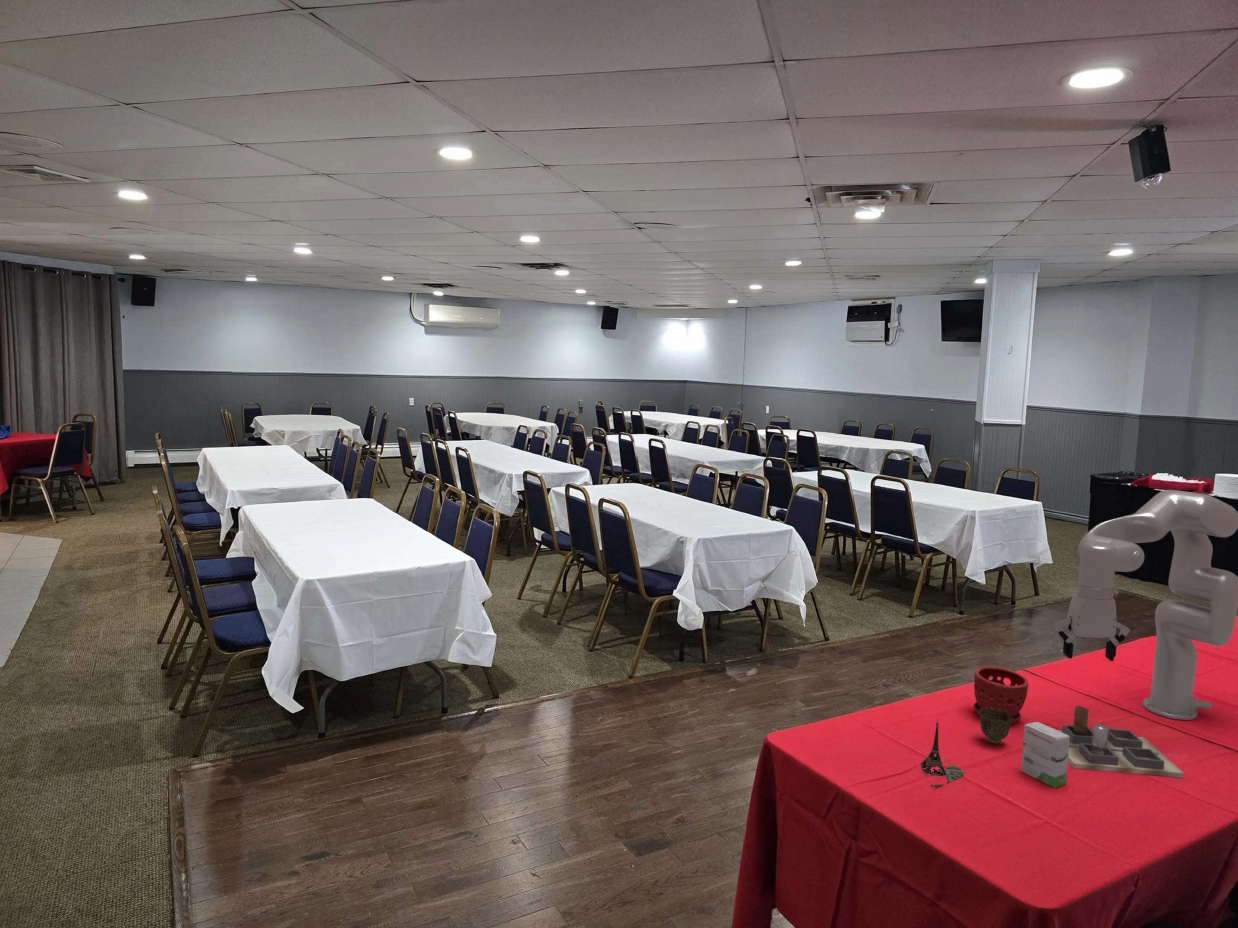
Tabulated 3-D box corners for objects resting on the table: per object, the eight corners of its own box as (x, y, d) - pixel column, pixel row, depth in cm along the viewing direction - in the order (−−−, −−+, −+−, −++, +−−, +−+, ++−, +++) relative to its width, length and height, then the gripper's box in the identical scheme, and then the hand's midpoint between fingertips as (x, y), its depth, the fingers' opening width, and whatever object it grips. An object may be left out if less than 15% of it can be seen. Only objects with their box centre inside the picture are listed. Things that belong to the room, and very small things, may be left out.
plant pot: (972, 722, 210) (976, 679, 208) (970, 703, 222) (974, 663, 220) (1027, 731, 205) (1031, 688, 204) (1022, 711, 217) (1025, 670, 216)
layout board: (1143, 741, 201) (1147, 707, 200) (1183, 777, 183) (1187, 740, 182) (1044, 733, 204) (1047, 699, 203) (1073, 767, 187) (1076, 731, 186)
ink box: (1067, 784, 179) (1072, 735, 178) (1053, 788, 177) (1057, 739, 176) (1033, 766, 187) (1037, 719, 186) (1019, 770, 185) (1023, 723, 183)
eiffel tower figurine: (934, 792, 176) (939, 736, 174) (896, 772, 184) (900, 718, 182) (973, 774, 184) (978, 720, 182) (935, 755, 192) (939, 704, 191)
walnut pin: (1082, 736, 201) (1085, 706, 200) (1088, 741, 198) (1090, 711, 197) (1070, 735, 201) (1072, 705, 200) (1075, 740, 198) (1078, 710, 197)
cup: (1013, 751, 194) (1016, 720, 193) (981, 747, 196) (984, 717, 195) (1005, 737, 202) (1007, 707, 201) (974, 734, 203) (976, 704, 202)
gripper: (1125, 589, 197) (1118, 654, 199) (1051, 585, 199) (1046, 650, 202) (1140, 598, 189) (1133, 665, 192) (1063, 594, 192) (1057, 661, 194)
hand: (1088, 657), depth 197 cm, fingers open, 9 cm apart
